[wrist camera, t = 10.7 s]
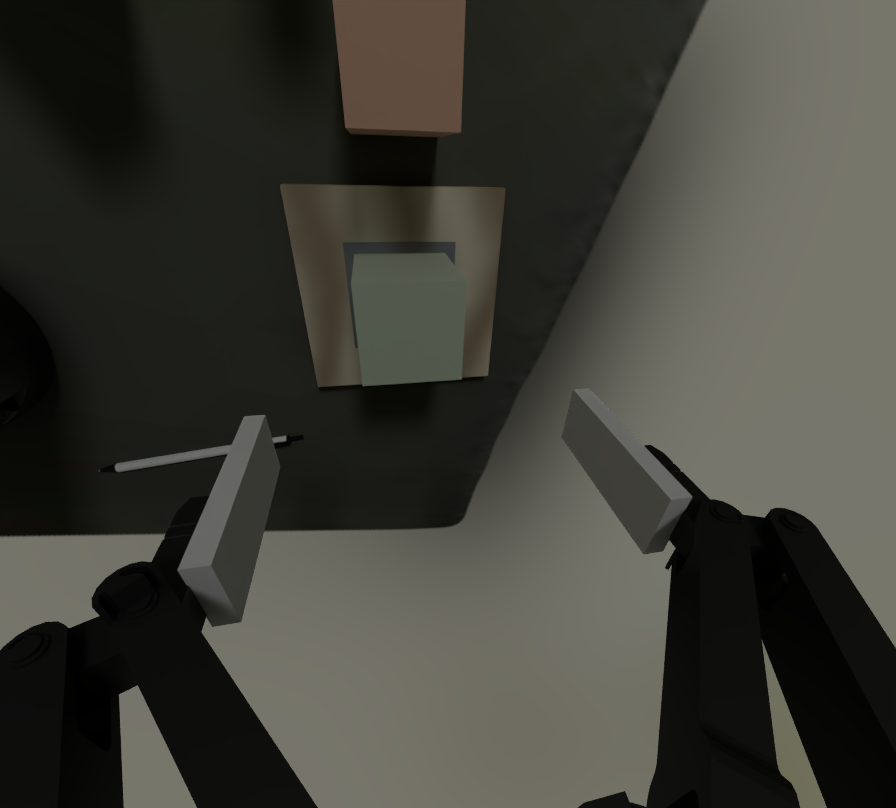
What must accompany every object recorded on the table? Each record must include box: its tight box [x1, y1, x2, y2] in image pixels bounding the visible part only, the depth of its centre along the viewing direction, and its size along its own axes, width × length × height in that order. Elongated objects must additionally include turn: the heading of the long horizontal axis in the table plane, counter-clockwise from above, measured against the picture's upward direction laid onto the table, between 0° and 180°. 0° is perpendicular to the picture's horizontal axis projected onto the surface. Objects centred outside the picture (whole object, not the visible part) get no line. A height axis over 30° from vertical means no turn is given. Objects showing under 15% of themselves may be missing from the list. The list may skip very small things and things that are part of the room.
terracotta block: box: [333, 0, 466, 137], centre depth 21 cm, size 6×6×8 cm
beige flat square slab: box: [280, 184, 506, 387], centre depth 32 cm, size 16×16×1 cm
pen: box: [99, 435, 303, 472], centre depth 37 cm, size 1×19×1 cm, turn 94°
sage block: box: [351, 253, 467, 386], centre depth 28 cm, size 7×7×8 cm
